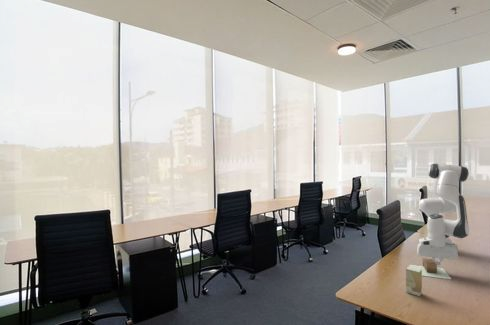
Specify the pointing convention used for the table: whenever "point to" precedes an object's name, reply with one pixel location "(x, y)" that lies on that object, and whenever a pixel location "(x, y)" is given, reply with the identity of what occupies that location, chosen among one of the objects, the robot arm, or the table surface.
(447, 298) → the table surface
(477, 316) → the table surface
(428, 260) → the block
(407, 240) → the table surface
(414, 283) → the skincare box
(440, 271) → the mat
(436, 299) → the table surface
